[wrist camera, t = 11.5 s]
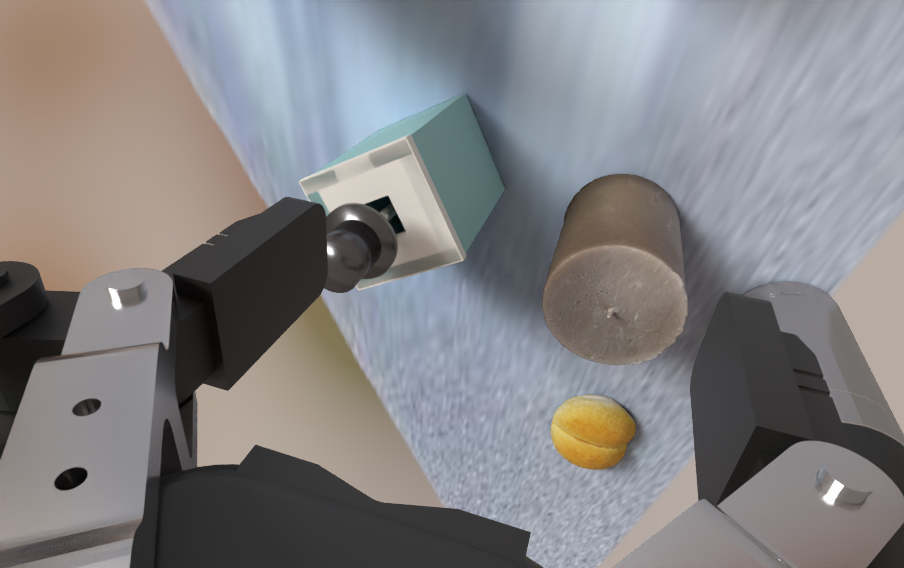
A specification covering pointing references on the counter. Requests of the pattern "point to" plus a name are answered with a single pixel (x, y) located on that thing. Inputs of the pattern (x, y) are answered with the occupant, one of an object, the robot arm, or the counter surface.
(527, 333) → the counter surface
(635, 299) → the pillar candle
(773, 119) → the counter surface
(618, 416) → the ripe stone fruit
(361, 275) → the doorknob
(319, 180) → the open teal box
